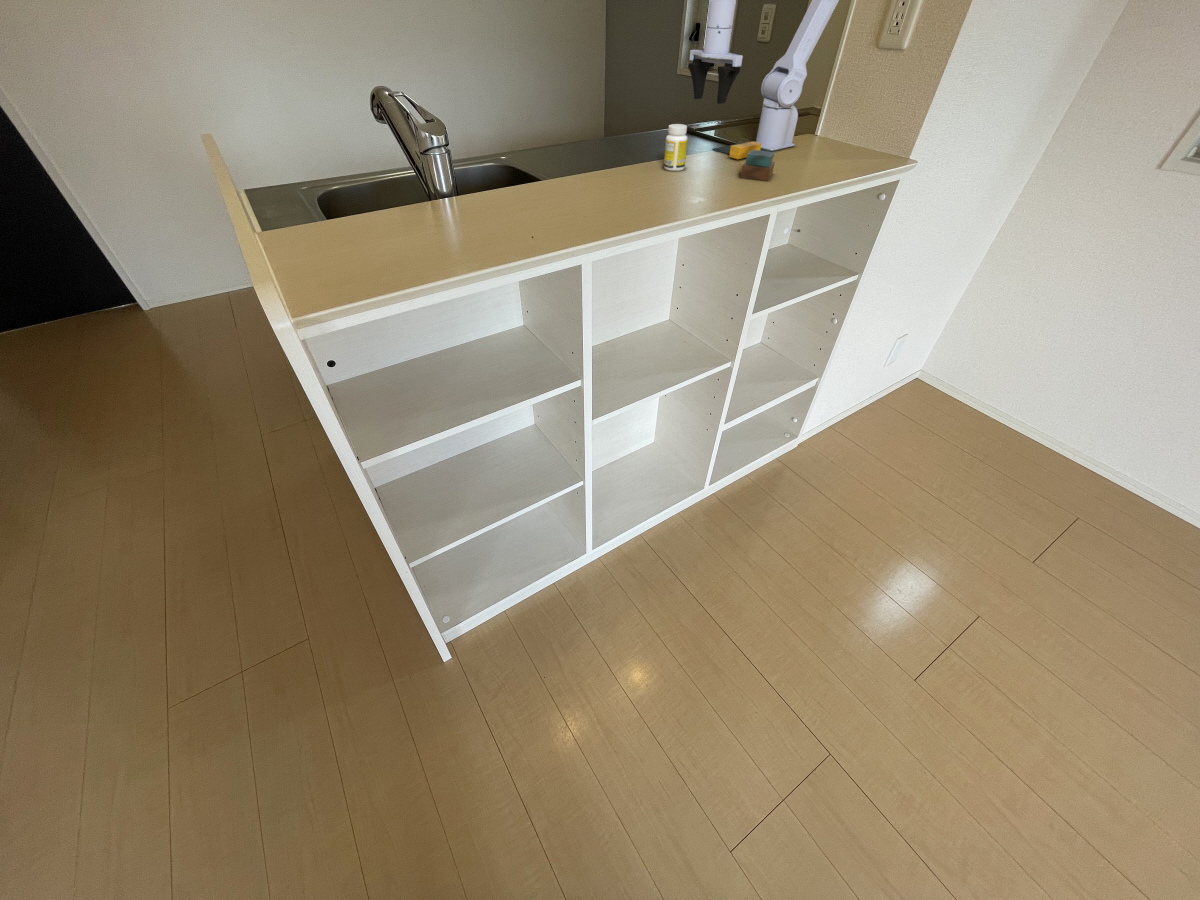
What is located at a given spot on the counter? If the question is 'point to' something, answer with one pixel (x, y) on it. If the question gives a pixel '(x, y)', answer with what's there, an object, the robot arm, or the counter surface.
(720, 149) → the mat
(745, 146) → the bar
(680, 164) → the supplement bottle
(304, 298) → the counter surface
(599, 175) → the counter surface
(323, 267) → the counter surface
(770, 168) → the two-tone stacked block
